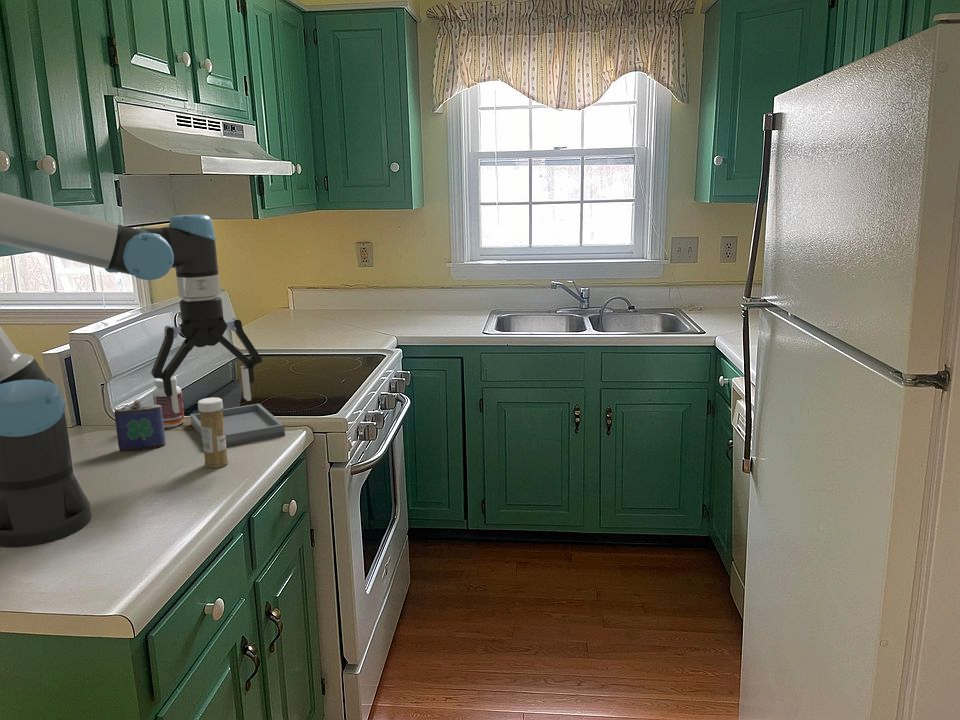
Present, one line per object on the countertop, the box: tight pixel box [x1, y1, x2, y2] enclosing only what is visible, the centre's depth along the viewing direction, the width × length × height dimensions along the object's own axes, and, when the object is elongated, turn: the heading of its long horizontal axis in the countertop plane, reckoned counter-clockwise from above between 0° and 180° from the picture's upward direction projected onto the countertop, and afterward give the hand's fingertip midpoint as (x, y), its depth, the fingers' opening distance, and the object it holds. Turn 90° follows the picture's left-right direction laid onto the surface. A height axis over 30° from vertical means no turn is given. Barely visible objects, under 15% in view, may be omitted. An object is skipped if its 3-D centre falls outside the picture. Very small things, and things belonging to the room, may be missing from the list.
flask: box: [114, 399, 167, 453], centre depth 160 cm, size 9×3×11 cm, turn 112°
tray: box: [189, 403, 286, 447], centre depth 172 cm, size 16×20×2 cm
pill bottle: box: [152, 376, 185, 429], centre depth 176 cm, size 6×6×11 cm
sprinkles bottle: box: [197, 397, 229, 469], centre depth 149 cm, size 5×5×14 cm
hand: (212, 405), depth 148 cm, fingers open, 13 cm apart
